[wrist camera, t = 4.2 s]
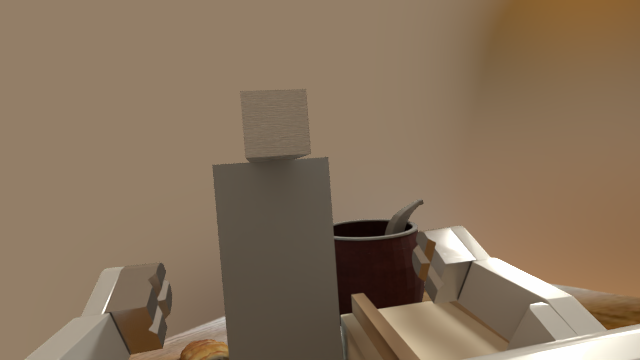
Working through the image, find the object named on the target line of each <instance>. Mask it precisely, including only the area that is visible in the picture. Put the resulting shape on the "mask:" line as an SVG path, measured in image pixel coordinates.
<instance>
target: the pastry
mask: <svg viewBox="0 0 640 360" xmlns="http://www.w3.org/2000/svg"><path fill="white" fill-rule="evenodd" d="M180 360H229V352H228V346H227V345H226V344H225V343H224V342H216V341H215V340H212V339H210V340H208V339H206V340H201V341H194V342H191V343H190V344H188V345H187V346H186V347H185V349H184V350H183V351H182V353H181V359H180Z"/></svg>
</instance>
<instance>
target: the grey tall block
mask: <svg viewBox="0 0 640 360" xmlns="http://www.w3.org/2000/svg"><path fill="white" fill-rule="evenodd" d="M213 177H214V189H215V200H216V211H217V224H218V236H219V247H220V259H221V270H222V282H223V294H224V305H225V317H226V329H227V340H228V352H229V360H343V357H342V343H341V329H340V315H339V301H338V287H337V274H336V260H335V246H334V232H333V218H332V204H331V192H330V176H329V163H328V157H324V158H309V159H294V160H279V161H265V162H250V163H236V164H221V165H213Z"/></svg>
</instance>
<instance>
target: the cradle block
mask: <svg viewBox="0 0 640 360" xmlns="http://www.w3.org/2000/svg"><path fill="white" fill-rule="evenodd" d="M351 298H352V312H353V313H350V314H344V315H340V316H341V330H342V343H343V357H344V360H463V359H468V358H473V357H478V356H483V355H488V354H492V353H497V352H502V351H505V350H506V348H507V346H508V344H509V342H510V341H508V340H507V339H506V338H504V337H503V336H502V335H500V334H499V333H498V332H496V331H495V330H494V329H492V328H491V327H490V326H489V325H487V324H486V323H485V322H483V321H482V320H481V319H479V318H478V317H477V316H475V315H474V314H473V313H471V312H470V311H469V310H467V309H466V308H465V307H464V306H462V305H461V304H460V303H458V301H452V302H444V303H437V304H433V302H432V301H428V302H421V303H415V304H408V305H402V306H395V307H389V308H382V309H377V308H376V307H375V306H374V305H373V304H372V303H371V301H370V300H369V299H368V298H367V297H366V296H365V294H364V293H360V294H353V295H351Z"/></svg>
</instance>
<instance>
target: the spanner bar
mask: <svg viewBox="0 0 640 360" xmlns="http://www.w3.org/2000/svg"><path fill="white" fill-rule="evenodd" d="M240 96H241V107H242V120H243V132H244V145H245V157H246V159H247V160H248V161H249V162H265V161H279V160H294V159H297V158H300V157H302V156H305V155H308V154H311V149H310V136H309V122H308V109H307V95H306V89H302V90H301V89H300V90H267V91H241V92H240Z"/></svg>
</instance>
